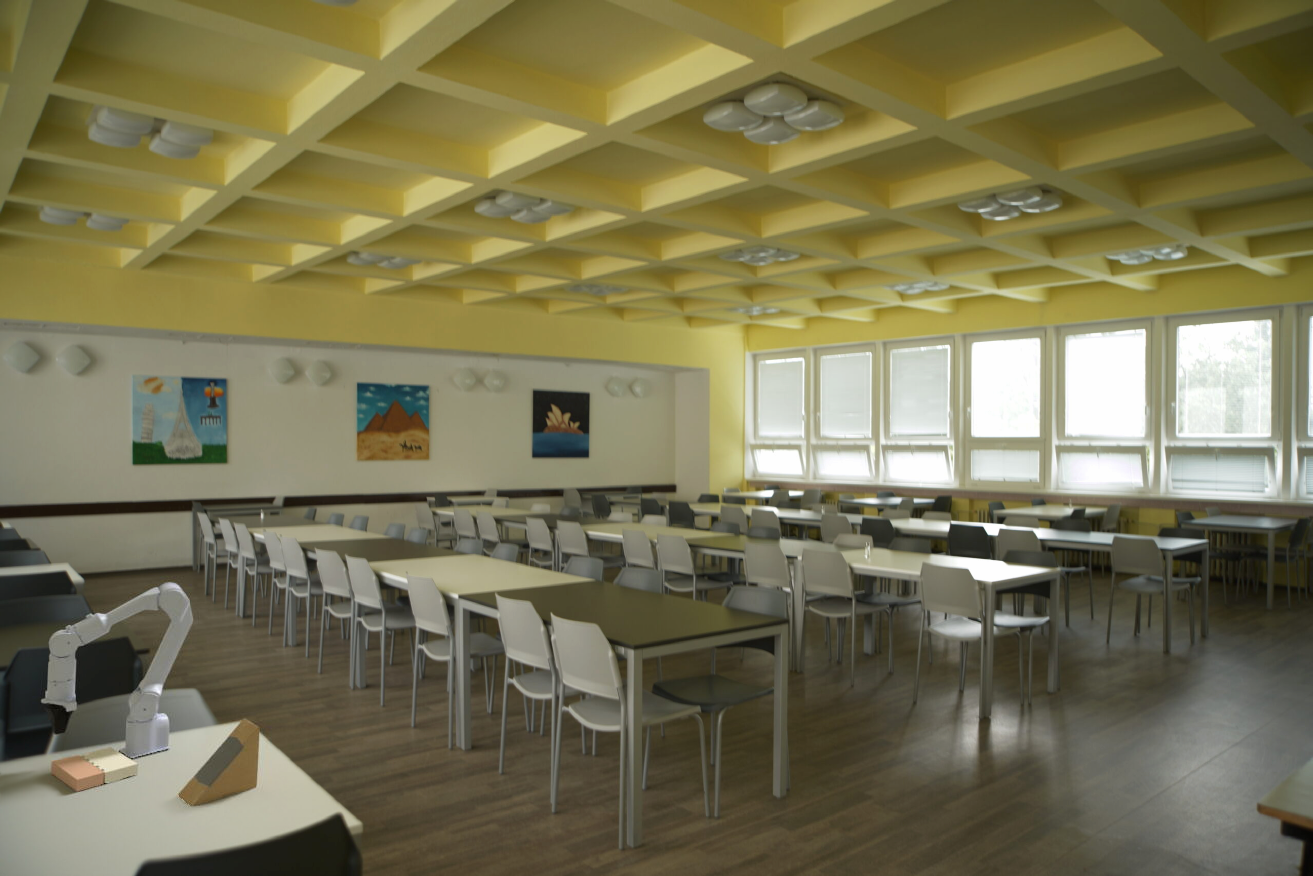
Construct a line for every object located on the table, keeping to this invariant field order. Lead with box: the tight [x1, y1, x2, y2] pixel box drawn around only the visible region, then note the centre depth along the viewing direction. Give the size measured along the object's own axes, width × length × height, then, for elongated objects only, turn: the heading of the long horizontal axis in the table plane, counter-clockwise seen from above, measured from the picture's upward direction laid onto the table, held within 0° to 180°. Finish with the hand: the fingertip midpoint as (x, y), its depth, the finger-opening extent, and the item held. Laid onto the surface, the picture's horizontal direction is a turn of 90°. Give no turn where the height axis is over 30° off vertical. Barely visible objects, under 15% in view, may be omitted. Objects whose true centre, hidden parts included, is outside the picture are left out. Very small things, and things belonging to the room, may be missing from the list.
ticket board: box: [78, 747, 139, 784], centre depth 209 cm, size 7×16×3 cm, turn 54°
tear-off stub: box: [50, 754, 104, 792], centre depth 204 cm, size 6×16×3 cm, turn 54°
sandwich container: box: [177, 717, 261, 807], centre depth 200 cm, size 9×15×15 cm, turn 140°
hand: (59, 733), depth 211 cm, fingers closed
